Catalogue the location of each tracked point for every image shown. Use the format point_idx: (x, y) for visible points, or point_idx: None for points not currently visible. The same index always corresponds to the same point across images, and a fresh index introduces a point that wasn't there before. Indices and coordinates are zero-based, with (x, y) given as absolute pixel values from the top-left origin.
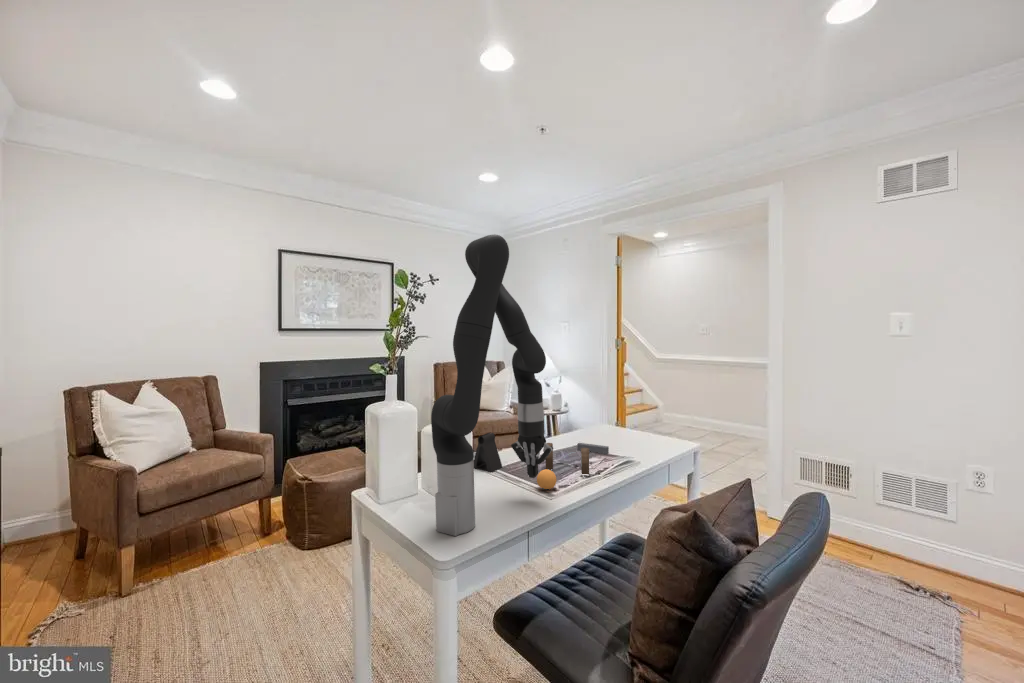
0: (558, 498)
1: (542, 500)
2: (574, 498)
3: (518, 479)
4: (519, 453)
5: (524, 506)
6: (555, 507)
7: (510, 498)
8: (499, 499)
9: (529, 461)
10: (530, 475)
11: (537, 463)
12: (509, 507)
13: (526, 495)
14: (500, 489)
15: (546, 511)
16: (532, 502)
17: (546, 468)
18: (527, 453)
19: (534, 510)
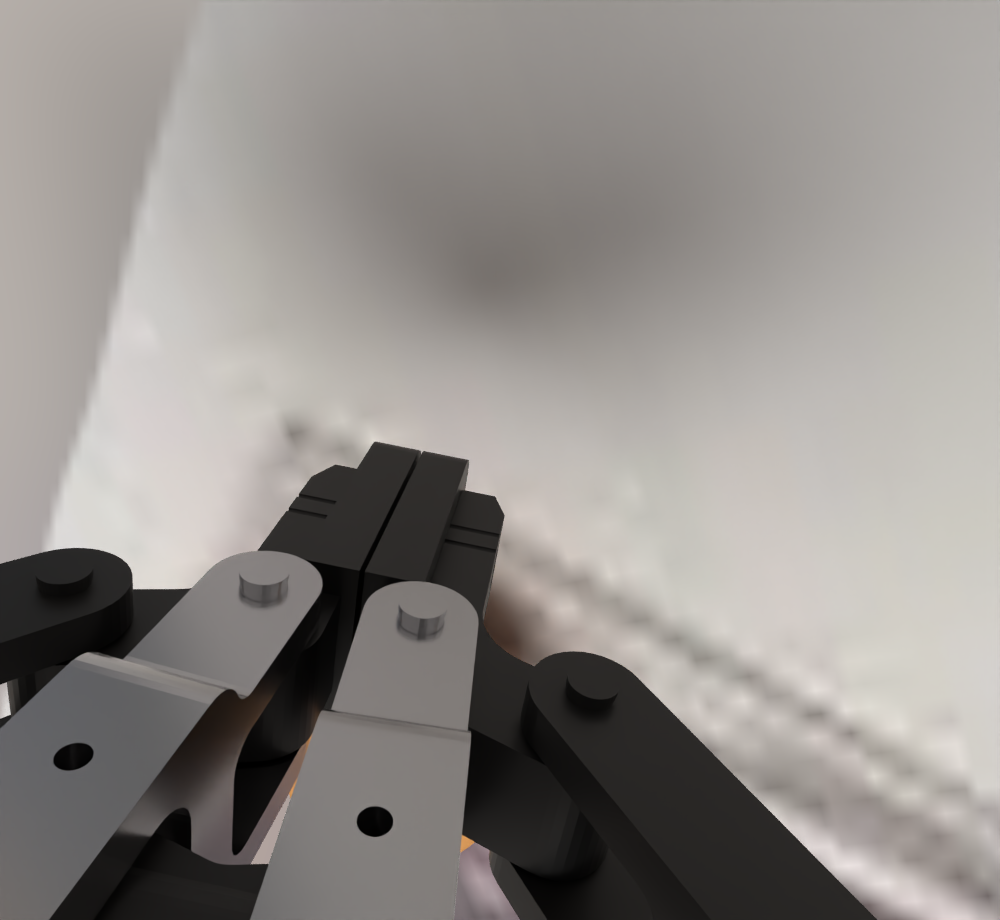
0: (229, 470)
1: (373, 378)
2: (81, 506)
3: (801, 823)
4: (699, 871)
5: (530, 141)
6: (162, 229)
7: (783, 334)
8: (935, 264)
9: (363, 635)
10: (429, 465)
11: (129, 573)
12: (729, 39)
13: (600, 465)
14: (975, 558)
15: (211, 77)
16: (468, 292)
17: None
18: (313, 800)
19: (363, 56)
